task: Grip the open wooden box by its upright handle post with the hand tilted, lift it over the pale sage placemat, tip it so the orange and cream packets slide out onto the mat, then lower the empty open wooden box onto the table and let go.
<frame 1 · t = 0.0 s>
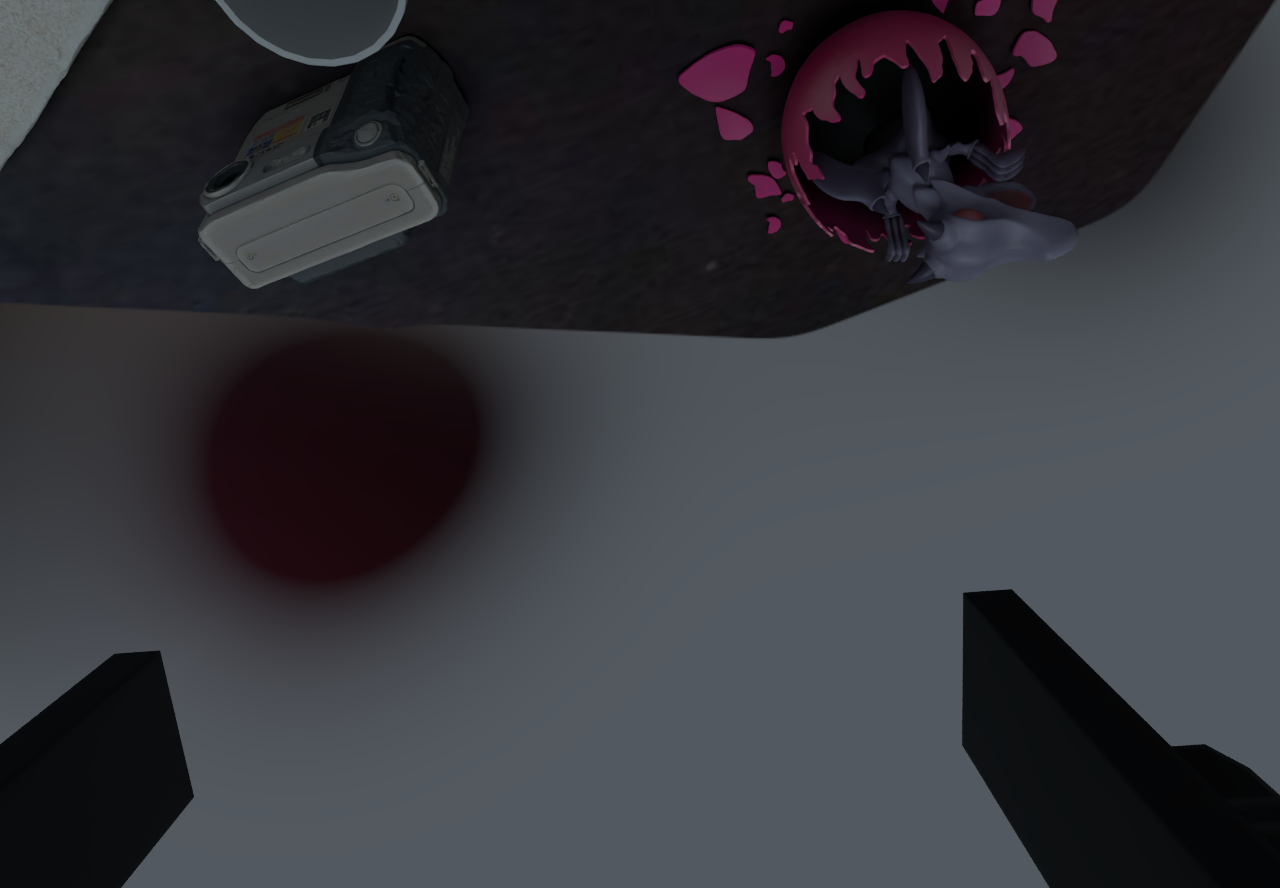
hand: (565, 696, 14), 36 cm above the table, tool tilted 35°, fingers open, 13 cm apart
hatching egg: (878, 73, 44), on the table
camera: (360, 111, 44), on the table
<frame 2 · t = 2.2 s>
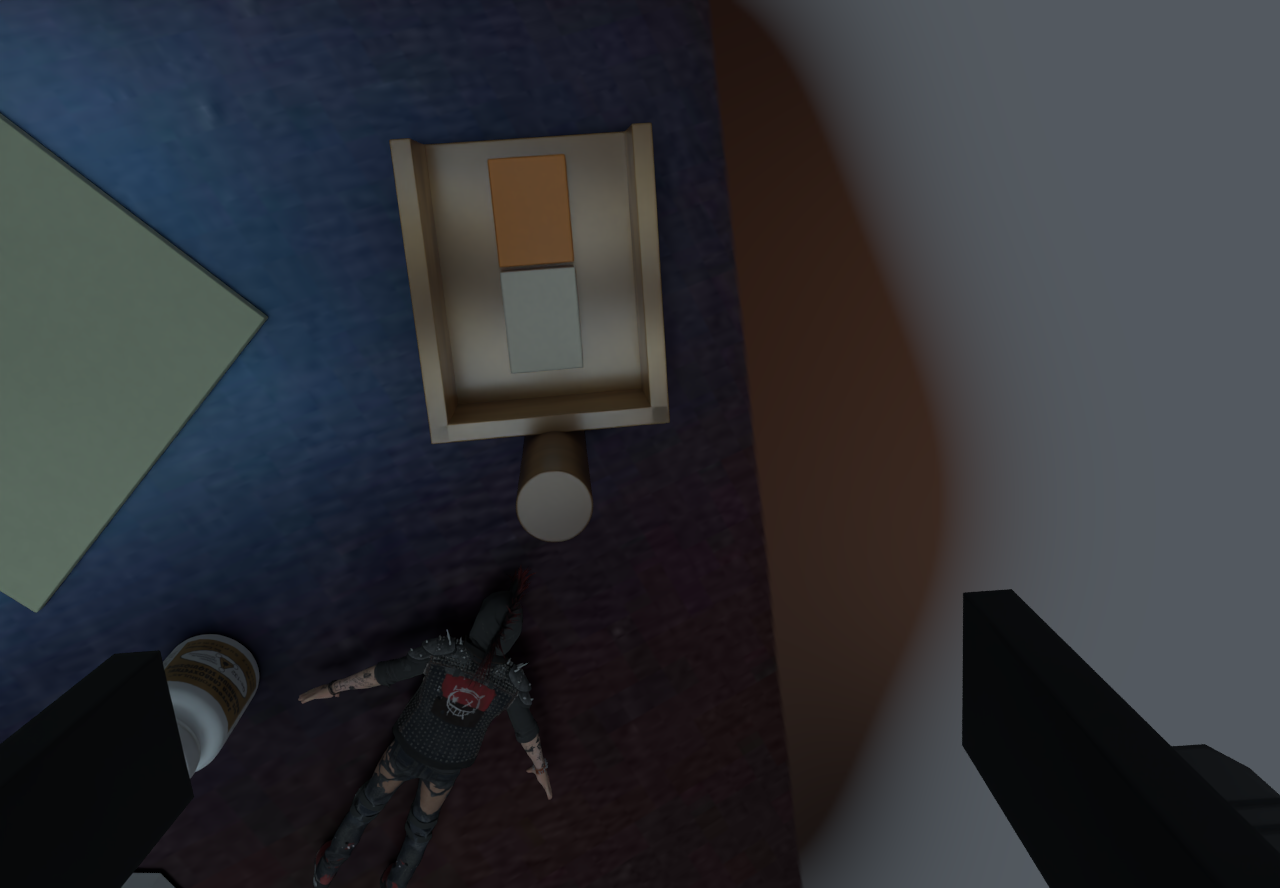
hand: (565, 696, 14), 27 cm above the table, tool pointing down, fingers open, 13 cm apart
cream packet: (542, 317, 39), point 1 cm above the table, touching open wooden box
figurine: (442, 708, 45), on the table
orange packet: (532, 211, 37), point 1 cm above the table, touching open wooden box
open wooden box: (539, 279, 39), on the table, touching cream packet, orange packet
pill bottle: (216, 669, 43), on the table
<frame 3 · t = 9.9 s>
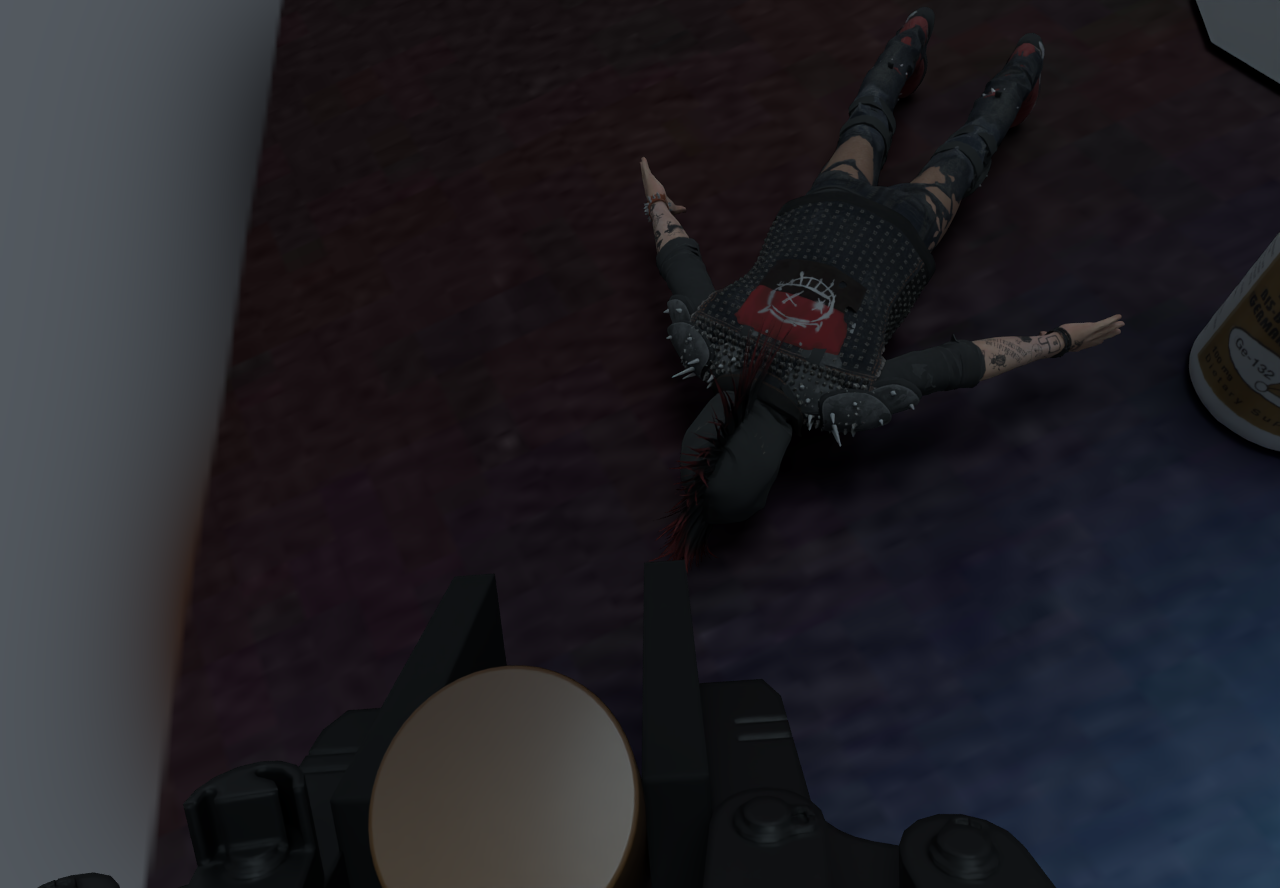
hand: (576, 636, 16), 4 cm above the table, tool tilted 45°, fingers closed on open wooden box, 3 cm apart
figurine: (836, 319, 25), on the table
pill bottle: (1271, 392, 22), on the table
when the fingers open (4 cm above the table, at t = 27.4 s): open wooden box drops 13 cm, resting on figurine.
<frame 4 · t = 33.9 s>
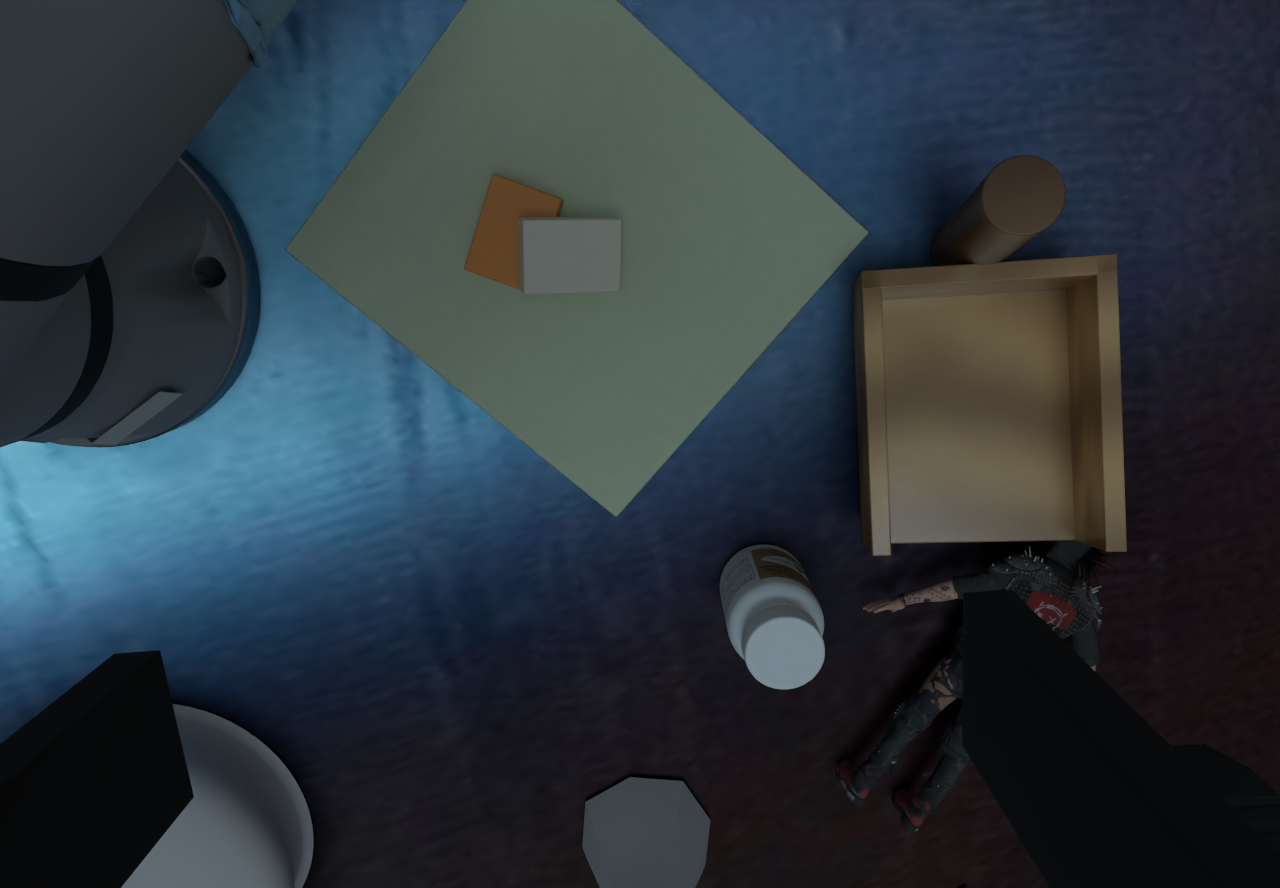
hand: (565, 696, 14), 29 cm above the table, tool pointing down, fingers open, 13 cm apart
flask: (646, 827, 48), on the table
cream packet: (573, 257, 38), point 3 cm above the table, tilted 160°, touching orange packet, placemat
figurine: (971, 634, 45), on the table, touching open wooden box
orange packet: (512, 234, 39), point 2 cm above the table, tilted 180°, touching cream packet, placemat
vase: (175, 826, 48), on the table
open wooden box: (967, 410, 40), point 2 cm above the table, tilted 15°, touching figurine
placemat: (576, 241, 40), on the table
pill bottle: (761, 580, 45), on the table
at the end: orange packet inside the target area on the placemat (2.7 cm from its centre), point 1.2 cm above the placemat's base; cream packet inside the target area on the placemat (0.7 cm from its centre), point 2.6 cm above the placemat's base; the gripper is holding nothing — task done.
